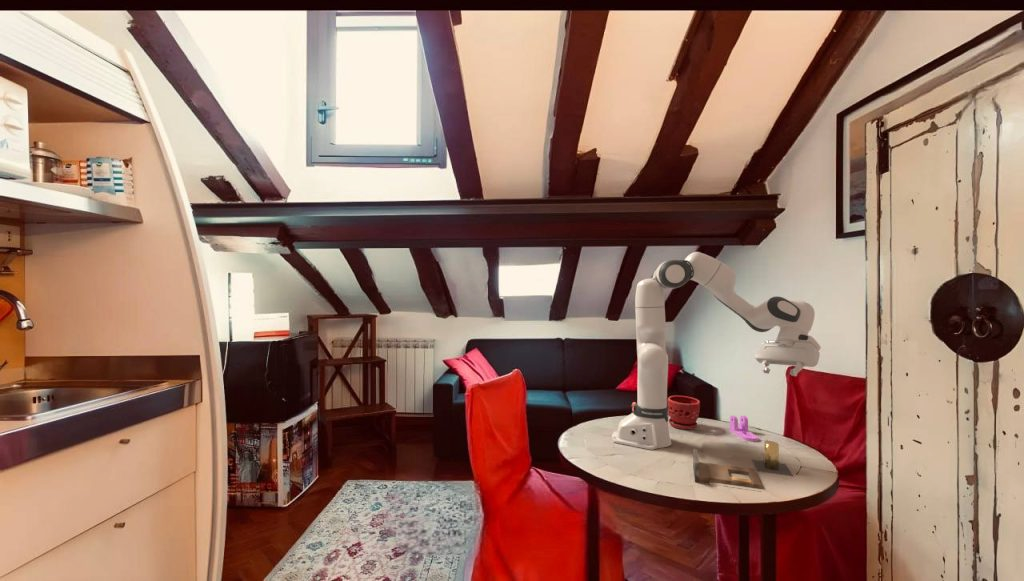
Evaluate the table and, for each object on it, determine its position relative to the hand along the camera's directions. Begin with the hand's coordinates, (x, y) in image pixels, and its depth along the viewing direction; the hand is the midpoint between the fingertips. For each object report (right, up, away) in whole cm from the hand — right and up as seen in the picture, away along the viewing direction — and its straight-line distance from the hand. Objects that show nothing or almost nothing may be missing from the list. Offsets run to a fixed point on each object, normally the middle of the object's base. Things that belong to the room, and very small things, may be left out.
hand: (778, 373), depth 148 cm
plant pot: (-19, -30, +36) cm, 51 cm away
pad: (-8, -30, -9) cm, 32 cm away
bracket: (+1, -31, +24) cm, 39 cm away
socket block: (-26, -30, -15) cm, 43 cm away
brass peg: (-8, -29, -9) cm, 31 cm away
